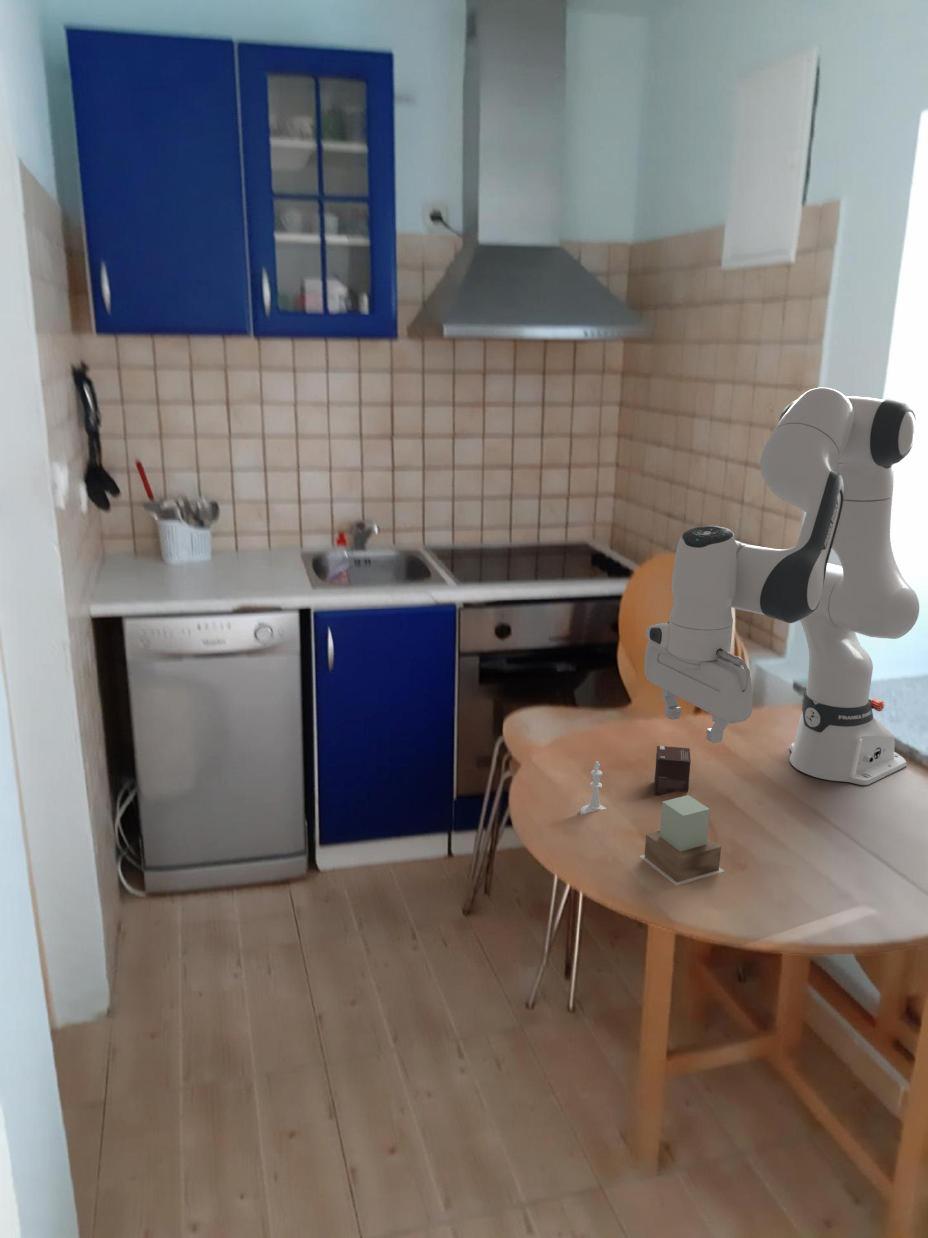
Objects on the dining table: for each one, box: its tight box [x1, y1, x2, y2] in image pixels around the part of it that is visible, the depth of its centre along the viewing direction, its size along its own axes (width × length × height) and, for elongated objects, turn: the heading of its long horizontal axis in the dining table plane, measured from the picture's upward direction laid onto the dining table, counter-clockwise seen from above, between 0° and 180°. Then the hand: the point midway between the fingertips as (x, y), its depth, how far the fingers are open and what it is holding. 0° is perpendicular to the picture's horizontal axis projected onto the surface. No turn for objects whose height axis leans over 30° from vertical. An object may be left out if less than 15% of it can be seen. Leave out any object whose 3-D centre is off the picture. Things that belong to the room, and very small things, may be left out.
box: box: [653, 745, 692, 796], centre depth 173 cm, size 6×6×7 cm
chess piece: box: [579, 760, 607, 816], centre depth 163 cm, size 5×5×10 cm
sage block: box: [659, 794, 711, 852], centre depth 145 cm, size 5×5×6 cm
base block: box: [644, 830, 722, 882], centre depth 146 cm, size 8×8×4 cm
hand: (692, 729), depth 140 cm, fingers open, 8 cm apart
